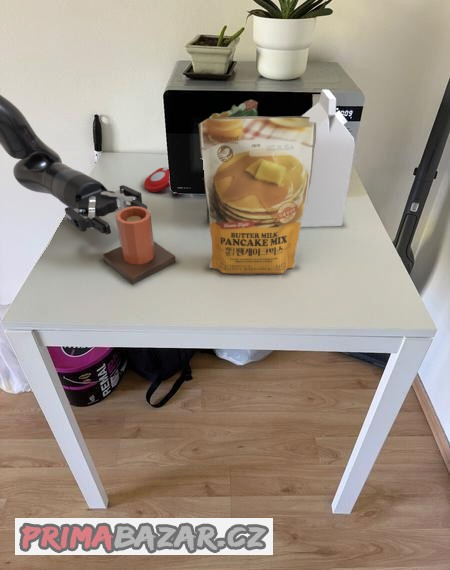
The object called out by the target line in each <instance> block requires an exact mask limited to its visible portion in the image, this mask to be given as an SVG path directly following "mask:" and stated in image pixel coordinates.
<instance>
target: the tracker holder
mask: <svg viewBox="0 0 450 570" xmlns="http://www.w3.org/2000/svg"><path fill="white" fill-rule="evenodd" d="M168 168H169V167H167V166H164V167H160V168H157V169H156V170H154V171H153V172H152V173H150V174H149V175H148V176H147V177H146V178H145V180H144V182H143V184H144V185H143V186H144V188H145V190H147V191H148V192H150V193H151V192H152V193H157V192H160V191H163V190H165V189H167V188H168V187H170V179H169V169H168ZM172 194H173V195H178V194H180V193H177V192H173V191H172Z"/></svg>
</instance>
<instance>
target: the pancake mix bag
mask: <svg viewBox="0 0 450 570" xmlns="http://www.w3.org/2000/svg"><path fill="white" fill-rule="evenodd" d="M309 119H310V117H304V116H302V115H299V116H298V115H296V116H295V115H293V116H261V115H260V116H259V115H257V116H246V117H222V118H209V117H208V118H206V119H204V120H203V121H202V122H200V123H197V124H198V133H199V145H200V146H199V147H200V154H201V155H200V156H201V159H202V160H203V170H204V178H203V182H204V192H205V199H206V198H207V203H208V208H209V219H210V220H209V232H210V238H211V257H210V261H209V266H208V268H209V269H214V270H218V271H219V272H220V273H221V274H224V275H225V274H227V275H284V274H285V273H286V272H287V270H290V269H293V268H296V264H295V254H296V251H297V247H298V243H299V240H300V235H301V229H302V227H301V224H302V220H303V216H304V212H305V207H306V203H307V199H308V191H309V187H310V184H311V176H312V166H313V156H314V147H315V142H316V122H309ZM207 203H206V204H207Z"/></svg>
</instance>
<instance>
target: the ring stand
mask: <svg viewBox="0 0 450 570" xmlns="http://www.w3.org/2000/svg"><path fill="white" fill-rule="evenodd" d="M139 220H141V218H140V217H139V216H131V217H128V218H127V221H130V222H134V221H139ZM154 250H155V255H154V257H153V259H152V260H150V261H149V262H147V263H144V264H140V265H137V264H130V263H128V262H126V261H124V259H123V256H122V251H121V245H120V246H118V247H116V248H113V249H111V250H110V251H107V252H105V253H102V259H103V261H104V263H106V264H107V265H108V266H110V267H111V268H112V269H113V270H115V272H117V273H118V274H119V275H121V277H123V278H124V279H126V280H127V281H128V282H129V283H131V284H132V285H135V284H137V283H138V282H140V281H142V280H144V279H147V278H148V277H150V276H152V275H154V274H156V273H158V272H160V271H162V270H164V269H165V268H167V267H170V266H171V265H173V264H176V261H177V259H176V255H174V254H173V253H172V252H170V251H169V250H167V249H166V248H164V247H163V246H161V245H160V244H158V243H157V242H155V241H154Z"/></svg>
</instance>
